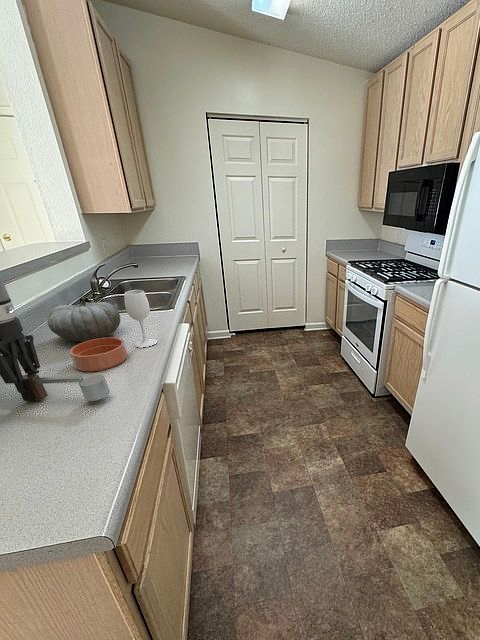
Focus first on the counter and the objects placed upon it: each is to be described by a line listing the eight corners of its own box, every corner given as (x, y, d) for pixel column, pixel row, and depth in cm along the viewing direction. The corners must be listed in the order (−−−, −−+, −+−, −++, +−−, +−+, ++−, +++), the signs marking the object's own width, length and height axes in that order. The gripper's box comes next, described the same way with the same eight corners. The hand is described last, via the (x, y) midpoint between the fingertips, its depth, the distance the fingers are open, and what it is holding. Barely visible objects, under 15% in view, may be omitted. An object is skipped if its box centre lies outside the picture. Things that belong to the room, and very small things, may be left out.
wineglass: (134, 349, 127) (120, 296, 118) (134, 341, 134) (121, 290, 125) (158, 345, 130) (147, 293, 121) (157, 338, 138) (146, 288, 128)
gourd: (93, 346, 124) (76, 300, 119) (40, 351, 130) (22, 308, 124) (136, 329, 147) (123, 290, 142) (90, 334, 153) (76, 297, 147)
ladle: (114, 388, 98) (106, 367, 95) (102, 400, 92) (93, 378, 89) (36, 392, 99) (26, 371, 95) (20, 404, 93) (8, 383, 90)
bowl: (64, 372, 111) (58, 356, 108) (92, 352, 126) (87, 337, 123) (113, 372, 111) (108, 356, 108) (135, 351, 126) (132, 337, 123)
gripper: (-12, 330, 78) (26, 413, 88) (36, 310, 92) (64, 383, 102) (-43, 331, 78) (-2, 413, 89) (9, 310, 92) (40, 383, 103)
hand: (33, 397), depth 95 cm, fingers closed on ladle, 2 cm apart
